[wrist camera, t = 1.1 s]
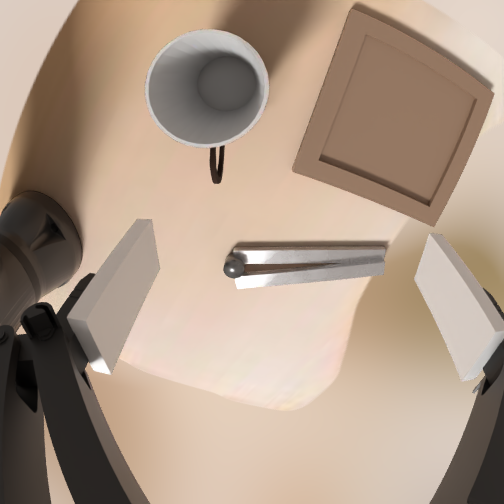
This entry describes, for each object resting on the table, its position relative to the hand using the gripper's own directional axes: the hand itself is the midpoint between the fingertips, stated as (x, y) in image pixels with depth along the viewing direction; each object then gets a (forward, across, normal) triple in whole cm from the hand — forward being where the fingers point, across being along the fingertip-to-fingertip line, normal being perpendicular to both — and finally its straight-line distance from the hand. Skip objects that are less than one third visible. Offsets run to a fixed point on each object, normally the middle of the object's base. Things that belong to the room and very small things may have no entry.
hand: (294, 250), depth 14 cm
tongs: (+19, +4, -13) cm, 24 cm away
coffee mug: (+20, -6, +5) cm, 21 cm away
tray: (+19, +12, +4) cm, 23 cm away
